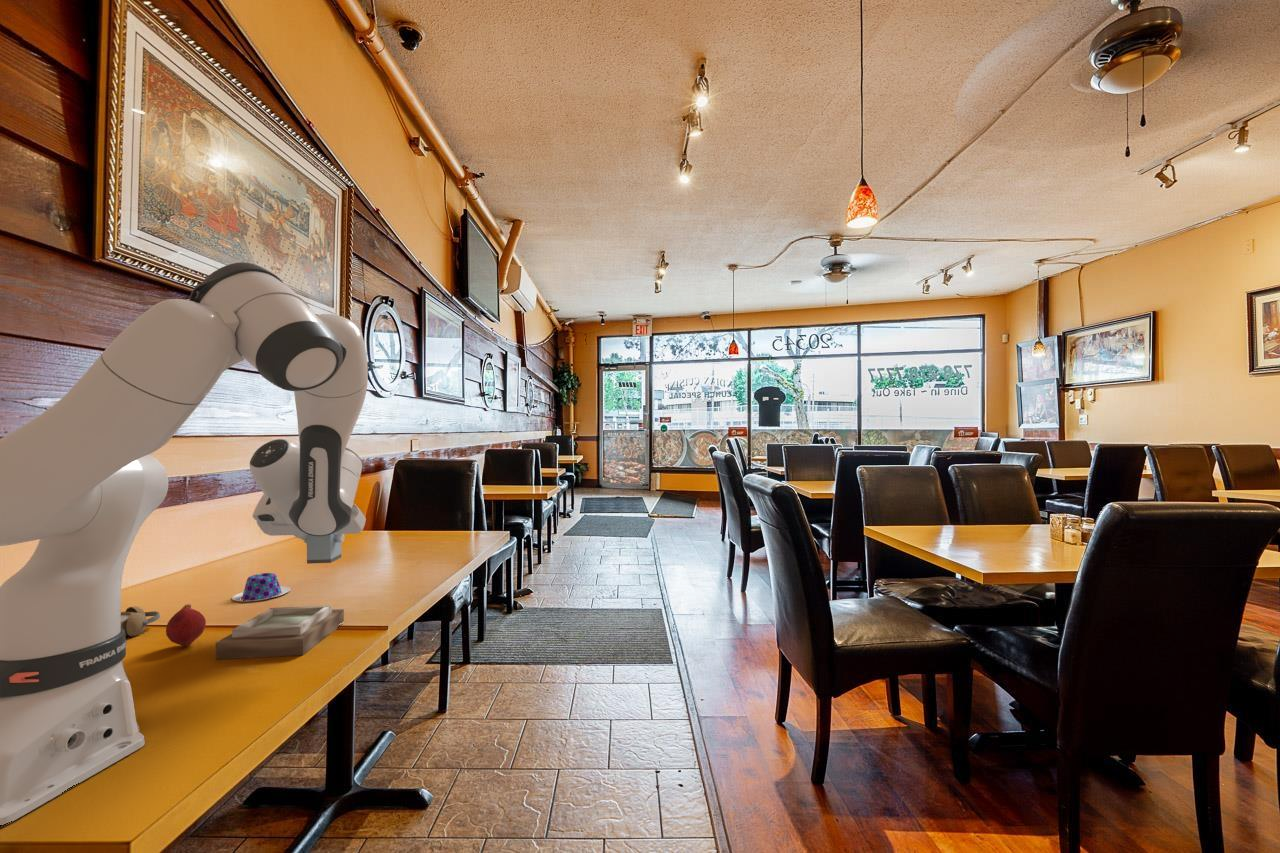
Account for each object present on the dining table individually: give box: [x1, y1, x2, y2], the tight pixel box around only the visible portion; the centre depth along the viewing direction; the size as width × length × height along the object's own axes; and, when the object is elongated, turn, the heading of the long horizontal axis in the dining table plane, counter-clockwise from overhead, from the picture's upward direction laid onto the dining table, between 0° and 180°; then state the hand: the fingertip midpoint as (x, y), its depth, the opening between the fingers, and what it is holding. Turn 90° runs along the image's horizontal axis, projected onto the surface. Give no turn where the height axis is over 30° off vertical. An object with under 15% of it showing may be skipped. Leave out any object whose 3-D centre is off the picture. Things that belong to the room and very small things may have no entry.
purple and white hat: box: [231, 572, 291, 602], centre depth 135 cm, size 12×12×5 cm
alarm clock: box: [121, 605, 160, 638], centre depth 109 cm, size 11×5×15 cm
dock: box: [215, 605, 345, 660], centre depth 106 cm, size 16×15×4 cm
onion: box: [165, 603, 207, 647], centre depth 103 cm, size 6×6×8 cm
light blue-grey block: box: [306, 534, 342, 564], centre depth 121 cm, size 5×5×8 cm
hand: (325, 540), depth 121 cm, fingers closed on light blue-grey block, 5 cm apart
